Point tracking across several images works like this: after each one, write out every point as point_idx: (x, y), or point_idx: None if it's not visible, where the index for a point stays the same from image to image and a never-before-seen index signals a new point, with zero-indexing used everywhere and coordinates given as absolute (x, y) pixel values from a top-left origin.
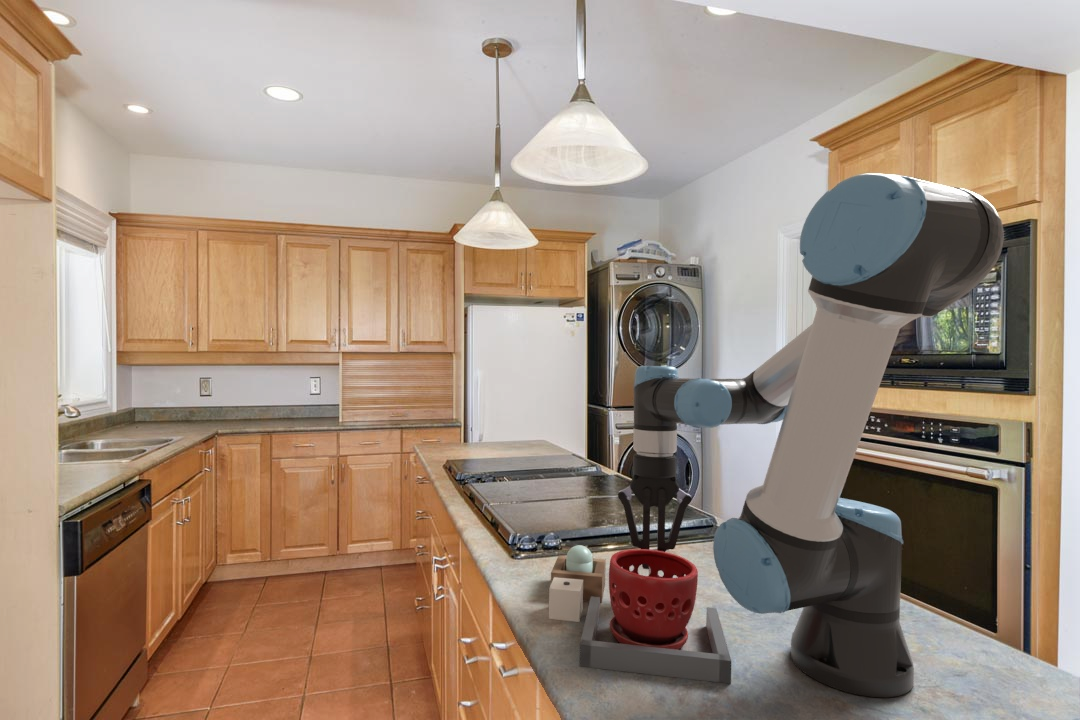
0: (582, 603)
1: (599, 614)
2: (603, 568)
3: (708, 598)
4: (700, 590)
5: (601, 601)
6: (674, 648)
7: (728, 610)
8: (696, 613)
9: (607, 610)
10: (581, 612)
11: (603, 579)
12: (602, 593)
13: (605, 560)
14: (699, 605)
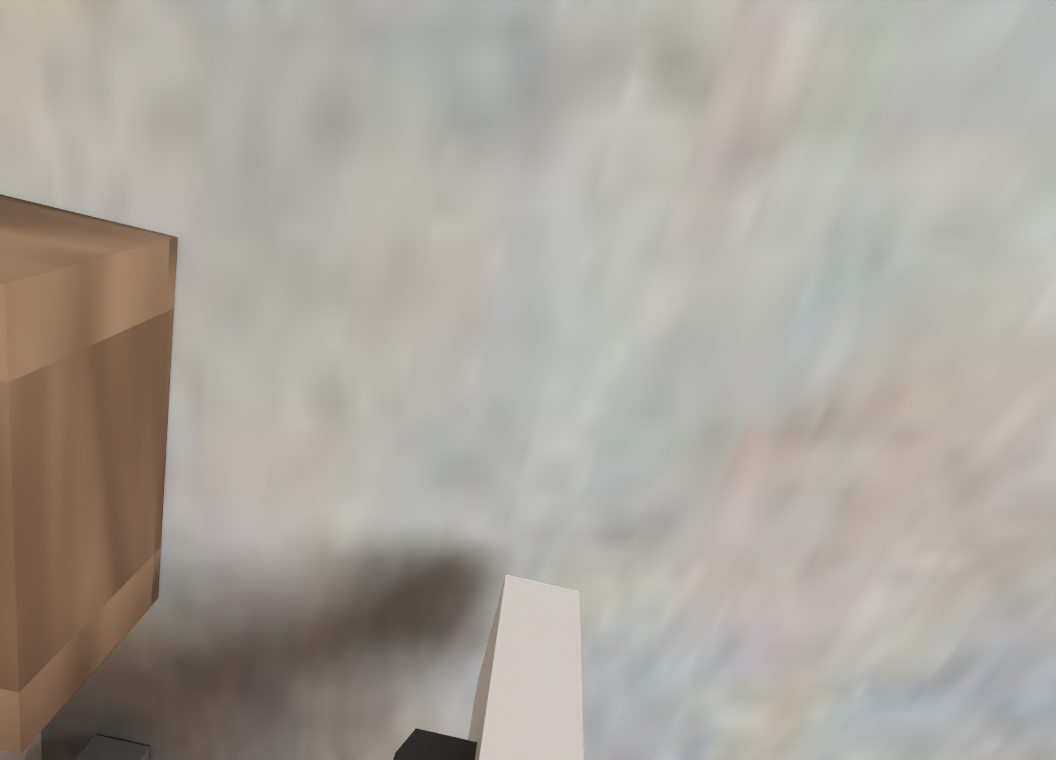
0: None
1: (145, 756)
2: (9, 569)
3: (994, 552)
4: (1021, 404)
5: (151, 601)
6: None
7: (1022, 725)
8: (772, 750)
9: (198, 690)
10: None
11: (84, 546)
12: (134, 574)
13: (6, 323)
14: (854, 653)
